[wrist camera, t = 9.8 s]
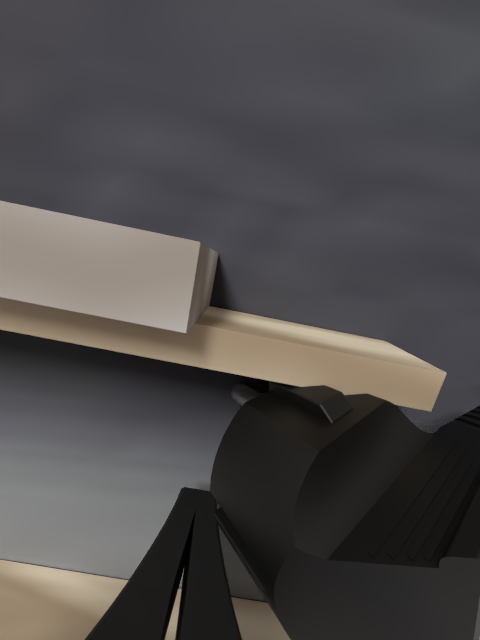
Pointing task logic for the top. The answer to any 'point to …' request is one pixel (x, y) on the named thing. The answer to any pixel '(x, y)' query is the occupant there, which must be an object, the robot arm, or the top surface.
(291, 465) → the power plug
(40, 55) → the top surface
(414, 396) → the guide channel
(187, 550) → the robot arm
